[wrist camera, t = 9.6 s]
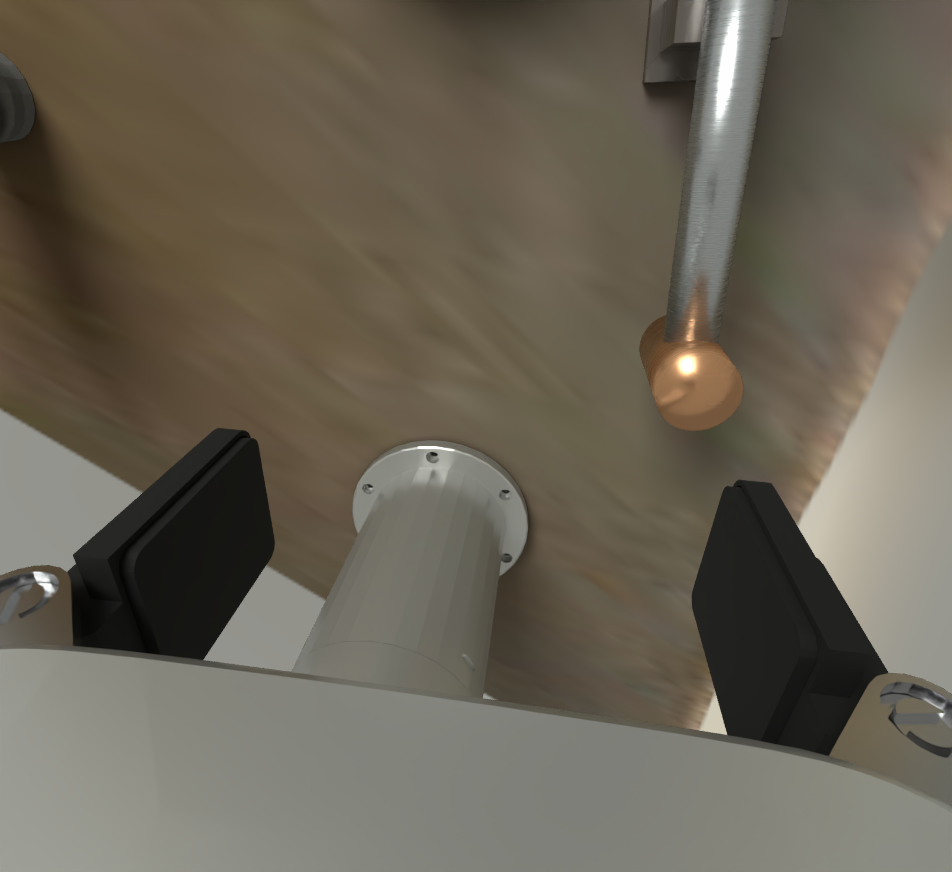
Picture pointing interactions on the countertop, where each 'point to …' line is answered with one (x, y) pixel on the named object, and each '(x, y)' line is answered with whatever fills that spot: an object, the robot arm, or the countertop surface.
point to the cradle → (682, 38)
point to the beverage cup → (14, 103)
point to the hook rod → (710, 219)
